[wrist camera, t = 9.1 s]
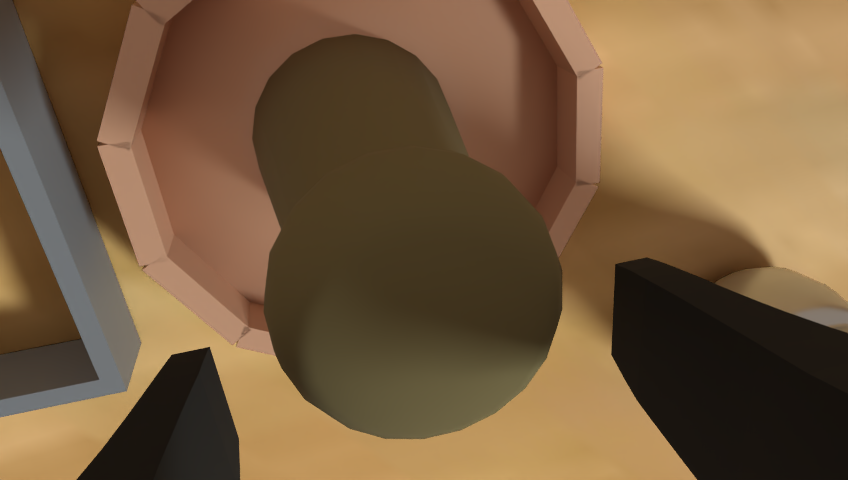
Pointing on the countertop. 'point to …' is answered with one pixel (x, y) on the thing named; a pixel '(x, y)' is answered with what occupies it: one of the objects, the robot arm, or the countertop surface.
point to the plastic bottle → (790, 294)
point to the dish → (244, 83)
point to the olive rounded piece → (395, 248)
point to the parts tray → (58, 247)
